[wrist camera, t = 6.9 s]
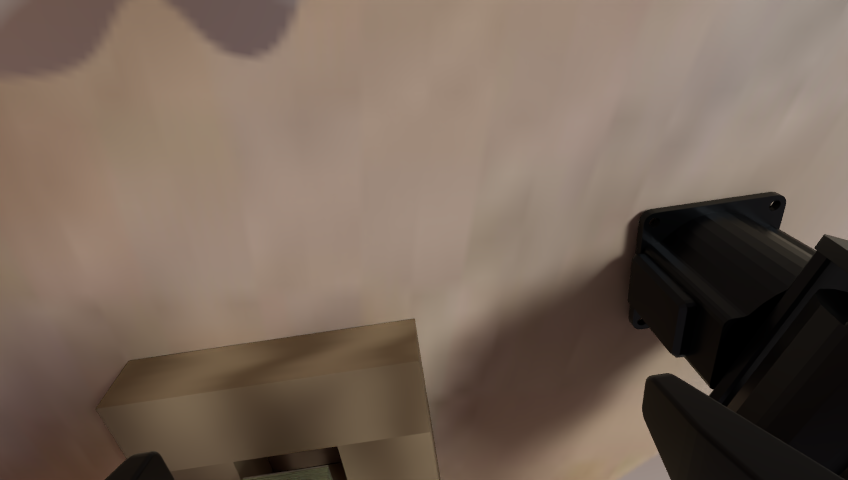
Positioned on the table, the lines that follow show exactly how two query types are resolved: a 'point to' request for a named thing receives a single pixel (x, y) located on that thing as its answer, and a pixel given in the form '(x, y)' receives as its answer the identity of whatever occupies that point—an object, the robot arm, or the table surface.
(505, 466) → the table surface
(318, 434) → the stand block
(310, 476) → the column
